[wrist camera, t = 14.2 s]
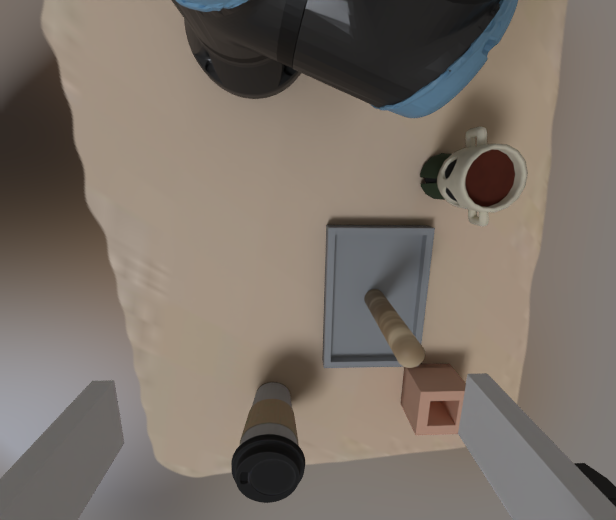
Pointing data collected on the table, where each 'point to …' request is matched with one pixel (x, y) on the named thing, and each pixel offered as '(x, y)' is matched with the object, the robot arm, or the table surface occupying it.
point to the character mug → (476, 176)
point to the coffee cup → (269, 448)
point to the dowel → (394, 330)
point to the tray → (372, 275)
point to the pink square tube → (433, 398)
